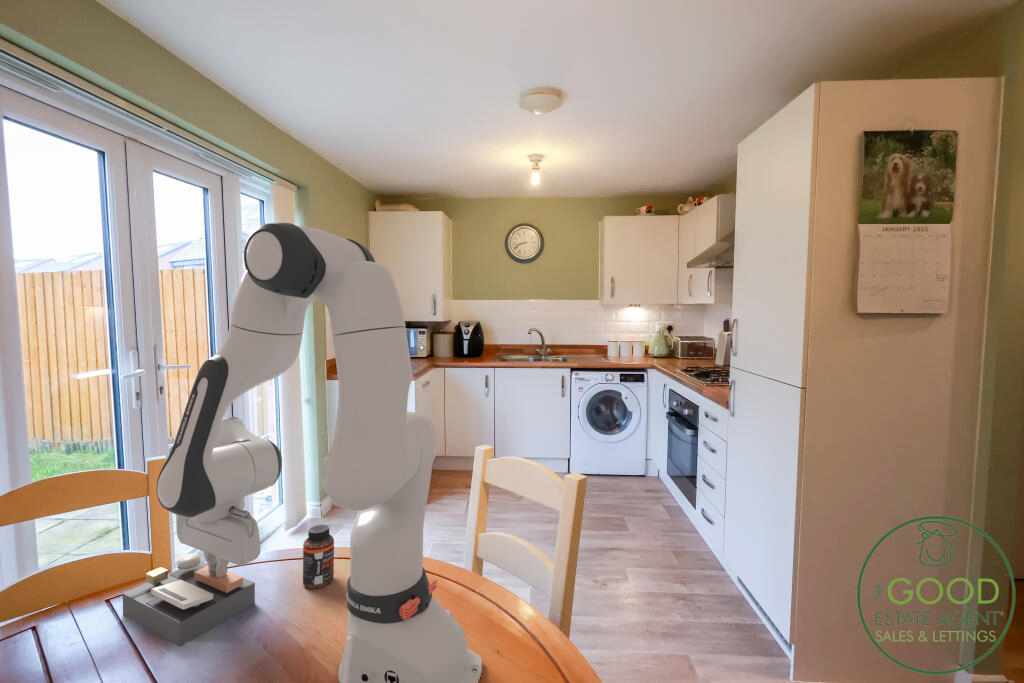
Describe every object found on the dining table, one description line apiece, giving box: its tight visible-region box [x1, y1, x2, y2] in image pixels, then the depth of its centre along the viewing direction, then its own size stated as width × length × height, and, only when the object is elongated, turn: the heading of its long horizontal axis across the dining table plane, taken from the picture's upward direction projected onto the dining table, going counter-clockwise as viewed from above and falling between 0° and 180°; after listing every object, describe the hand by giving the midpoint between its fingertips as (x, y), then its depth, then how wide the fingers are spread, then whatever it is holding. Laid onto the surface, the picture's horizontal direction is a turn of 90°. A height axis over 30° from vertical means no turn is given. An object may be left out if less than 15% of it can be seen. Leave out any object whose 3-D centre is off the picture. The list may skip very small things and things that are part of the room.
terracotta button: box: [194, 565, 244, 593], centre depth 84 cm, size 10×3×1 cm, turn 64°
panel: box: [122, 560, 256, 647], centre depth 82 cm, size 18×13×4 cm
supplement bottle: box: [302, 524, 335, 590], centre depth 92 cm, size 6×6×11 cm
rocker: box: [151, 580, 213, 610], centre depth 78 cm, size 10×5×1 cm, turn 64°
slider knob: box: [145, 566, 169, 586], centre depth 83 cm, size 2×2×2 cm
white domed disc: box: [177, 552, 201, 570], centre depth 88 cm, size 4×4×1 cm
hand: (218, 574), depth 84 cm, fingers closed, pressing on terracotta button
